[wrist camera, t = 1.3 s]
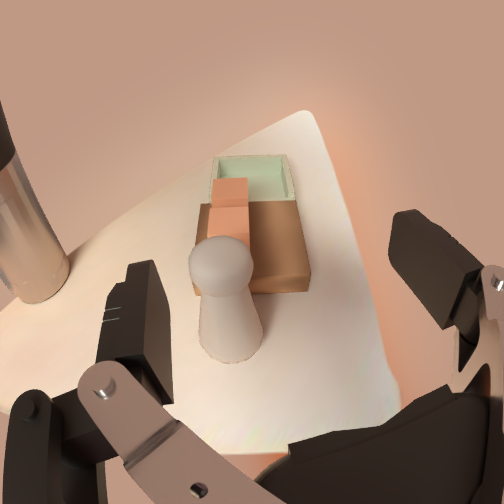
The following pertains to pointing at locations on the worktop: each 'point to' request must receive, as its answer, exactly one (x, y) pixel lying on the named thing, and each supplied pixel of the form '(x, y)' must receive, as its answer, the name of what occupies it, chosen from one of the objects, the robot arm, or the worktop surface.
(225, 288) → the salt shaker
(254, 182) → the tray
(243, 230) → the light orange cube
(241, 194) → the peach cube
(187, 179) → the worktop surface
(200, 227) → the board
